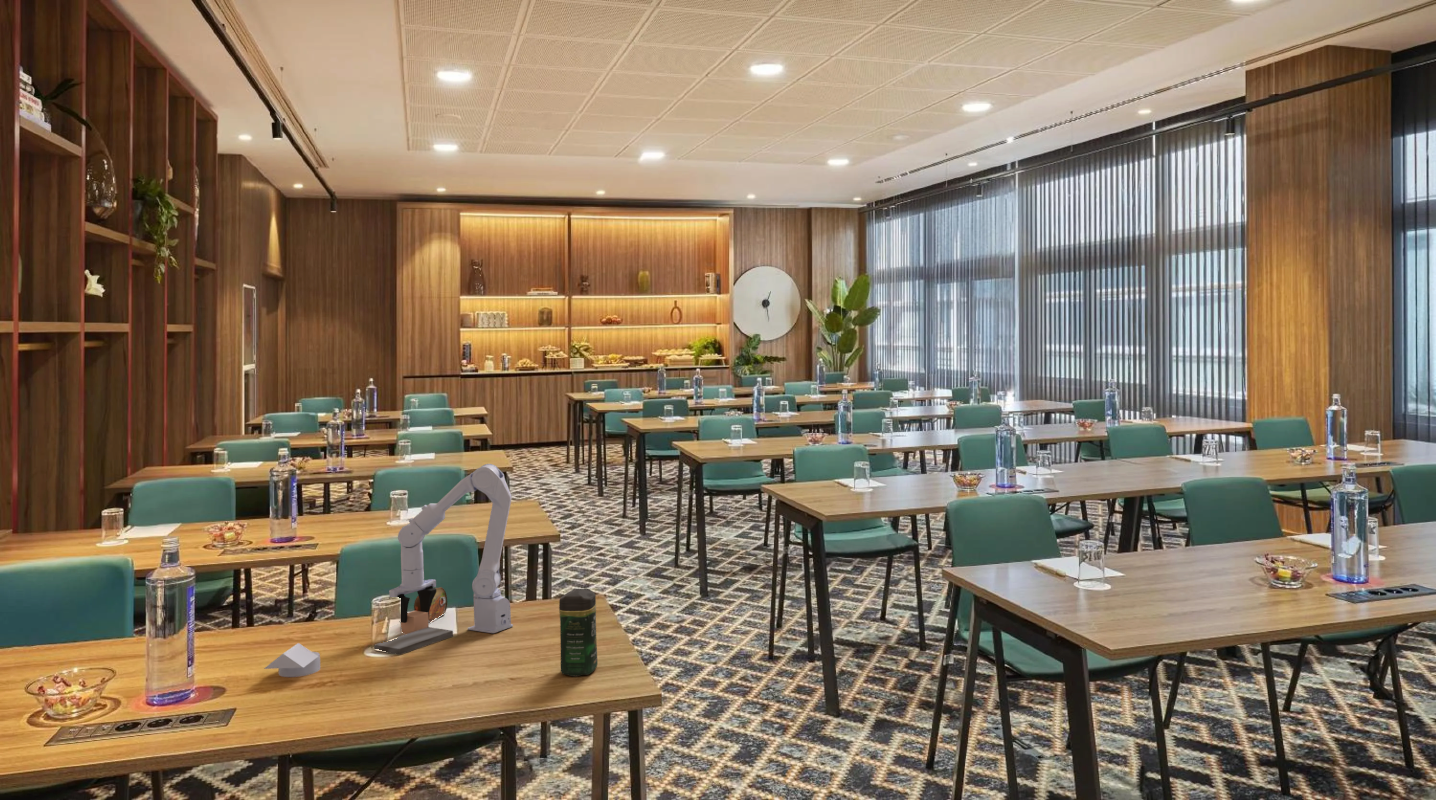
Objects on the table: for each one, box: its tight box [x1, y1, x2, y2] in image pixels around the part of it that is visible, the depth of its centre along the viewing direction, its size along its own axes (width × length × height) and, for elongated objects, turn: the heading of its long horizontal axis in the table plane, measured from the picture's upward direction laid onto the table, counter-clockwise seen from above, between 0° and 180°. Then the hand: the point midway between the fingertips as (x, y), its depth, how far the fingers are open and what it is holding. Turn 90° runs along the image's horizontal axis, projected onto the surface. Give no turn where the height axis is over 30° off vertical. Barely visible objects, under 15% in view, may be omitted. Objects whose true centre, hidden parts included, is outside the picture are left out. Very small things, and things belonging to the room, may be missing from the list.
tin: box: [413, 586, 448, 624], centre depth 273 cm, size 15×3×8 cm, turn 168°
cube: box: [400, 610, 430, 635], centre depth 261 cm, size 5×5×5 cm
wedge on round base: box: [263, 642, 321, 678], centre depth 227 cm, size 9×7×13 cm
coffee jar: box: [558, 588, 598, 677], centre depth 223 cm, size 10×8×19 cm
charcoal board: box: [373, 626, 454, 656], centre depth 250 cm, size 9×18×2 cm, turn 150°
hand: (414, 618), depth 261 cm, fingers open, 7 cm apart
